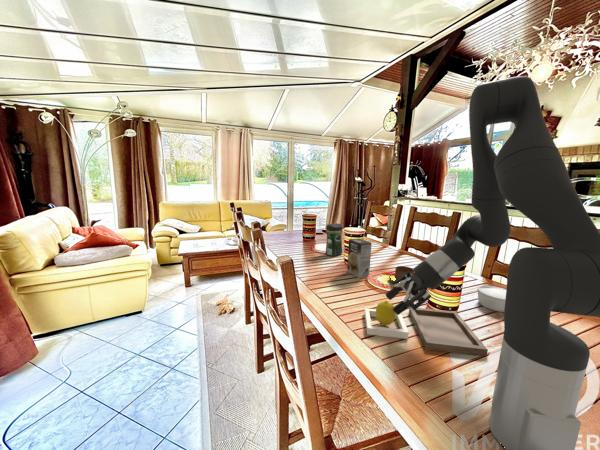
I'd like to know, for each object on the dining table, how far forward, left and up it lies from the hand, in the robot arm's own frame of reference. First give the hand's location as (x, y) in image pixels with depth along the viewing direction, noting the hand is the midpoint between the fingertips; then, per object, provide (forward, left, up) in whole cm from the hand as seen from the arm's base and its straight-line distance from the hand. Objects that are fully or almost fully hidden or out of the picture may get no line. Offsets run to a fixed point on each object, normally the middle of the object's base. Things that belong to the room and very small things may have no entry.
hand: (390, 304), depth 72 cm
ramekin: (+20, -39, -7) cm, 44 cm away
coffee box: (+41, +7, -7) cm, 42 cm away
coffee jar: (+70, +20, -7) cm, 73 cm away
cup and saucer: (+35, -11, -7) cm, 37 cm away
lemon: (0, +1, -7) cm, 7 cm away
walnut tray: (0, -15, -7) cm, 16 cm away
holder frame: (0, +1, -7) cm, 7 cm away
